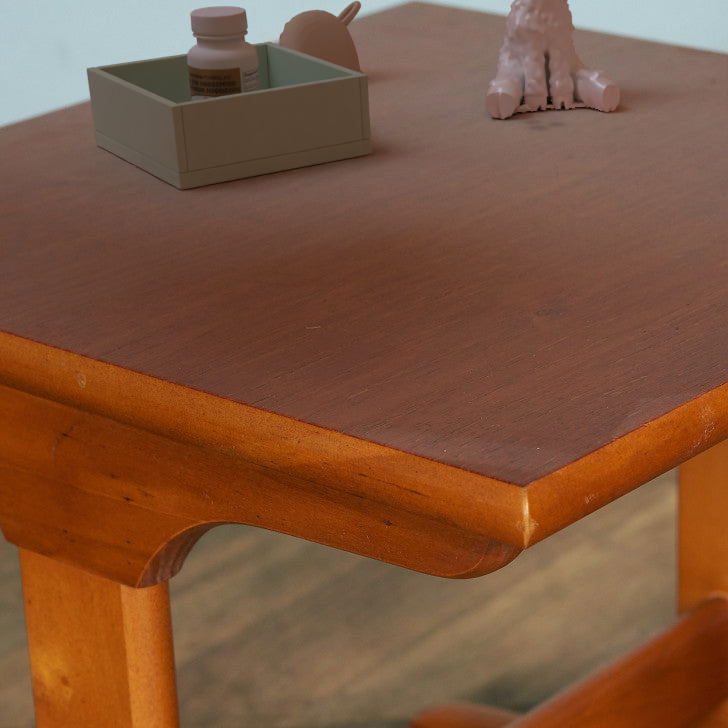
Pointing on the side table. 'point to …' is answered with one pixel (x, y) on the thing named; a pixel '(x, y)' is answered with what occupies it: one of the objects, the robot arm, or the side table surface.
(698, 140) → the side table surface
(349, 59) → the decorative ornament
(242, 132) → the open storage bin
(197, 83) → the pill bottle
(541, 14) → the white creature statuette
